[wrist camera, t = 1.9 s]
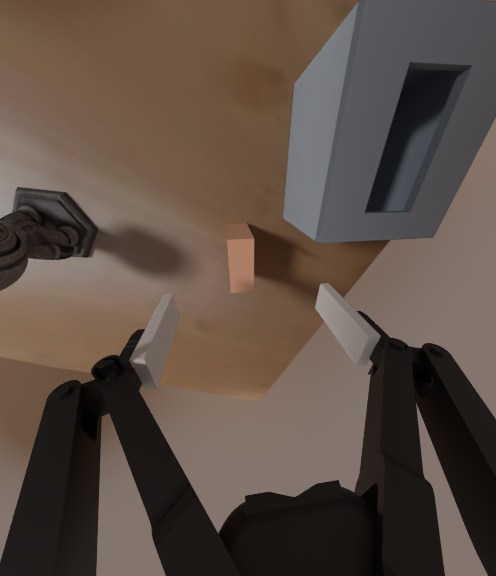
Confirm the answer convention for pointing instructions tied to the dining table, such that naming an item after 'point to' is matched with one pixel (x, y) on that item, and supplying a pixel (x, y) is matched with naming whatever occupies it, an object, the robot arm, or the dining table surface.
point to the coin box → (391, 119)
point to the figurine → (41, 231)
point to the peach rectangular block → (240, 257)
